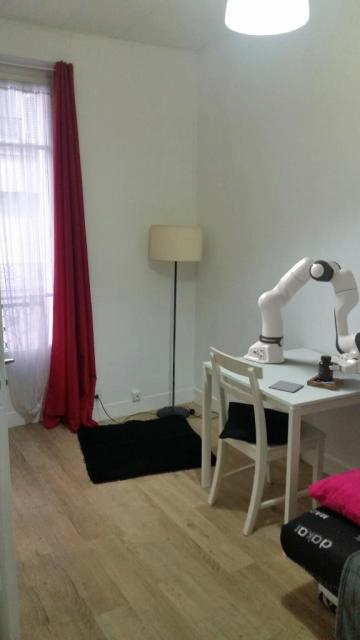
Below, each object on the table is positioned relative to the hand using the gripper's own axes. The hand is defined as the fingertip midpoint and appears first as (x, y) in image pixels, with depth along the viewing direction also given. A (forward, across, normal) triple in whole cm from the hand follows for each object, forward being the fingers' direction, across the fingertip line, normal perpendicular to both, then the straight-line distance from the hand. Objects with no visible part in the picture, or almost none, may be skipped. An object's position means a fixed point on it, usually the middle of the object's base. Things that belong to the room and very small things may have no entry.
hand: (324, 365), depth 251 cm
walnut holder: (-1, 0, +9) cm, 9 cm away
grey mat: (+18, -3, +9) cm, 21 cm away
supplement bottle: (-1, +1, +8) cm, 8 cm away
